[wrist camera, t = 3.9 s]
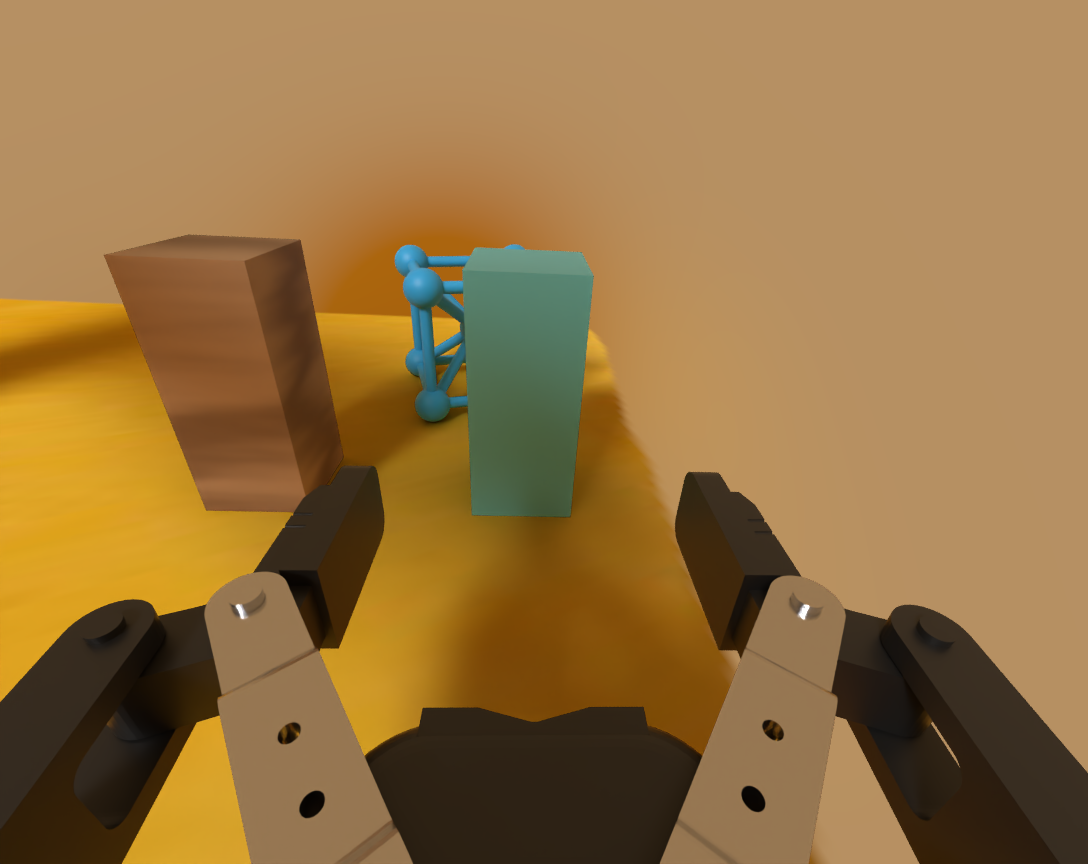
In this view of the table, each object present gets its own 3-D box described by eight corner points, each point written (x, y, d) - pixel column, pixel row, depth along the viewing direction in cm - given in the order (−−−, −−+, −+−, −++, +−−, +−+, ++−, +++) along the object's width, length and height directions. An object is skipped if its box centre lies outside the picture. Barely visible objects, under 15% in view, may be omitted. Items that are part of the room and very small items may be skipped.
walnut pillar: (309, 512, 24) (243, 260, 18) (206, 510, 23) (103, 255, 17) (343, 456, 28) (300, 239, 22) (256, 454, 28) (188, 234, 22)
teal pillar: (570, 517, 24) (593, 275, 18) (471, 515, 24) (462, 270, 18) (564, 462, 29) (581, 252, 23) (480, 460, 28) (475, 247, 22)
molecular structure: (522, 361, 42) (525, 241, 37) (561, 413, 34) (571, 269, 29) (405, 371, 39) (391, 242, 34) (418, 430, 31) (402, 272, 26)
